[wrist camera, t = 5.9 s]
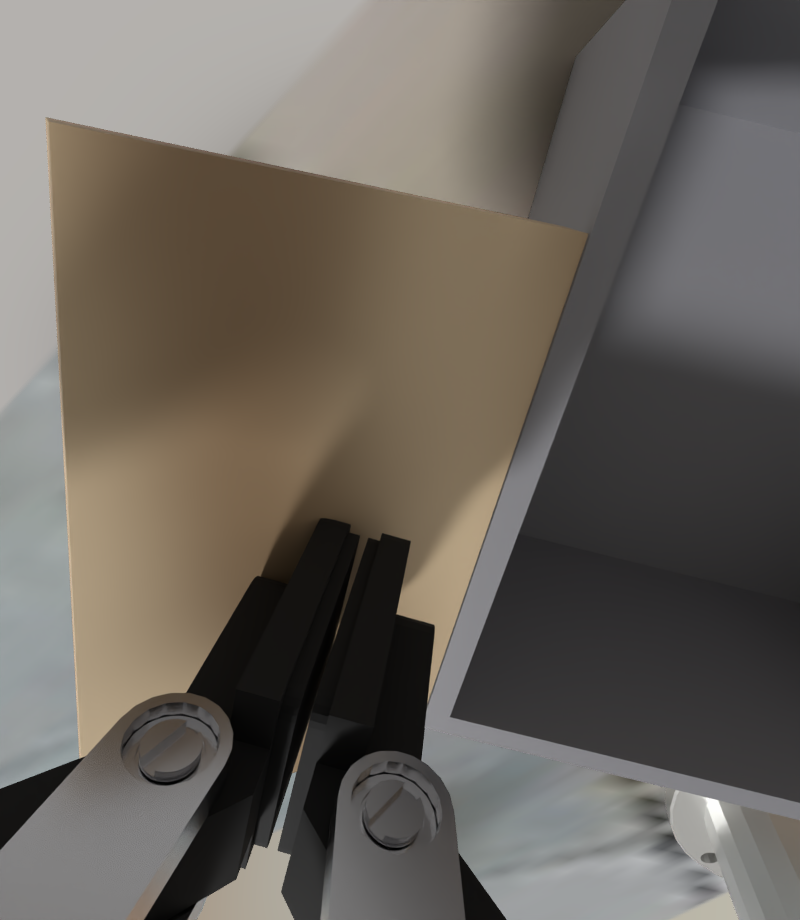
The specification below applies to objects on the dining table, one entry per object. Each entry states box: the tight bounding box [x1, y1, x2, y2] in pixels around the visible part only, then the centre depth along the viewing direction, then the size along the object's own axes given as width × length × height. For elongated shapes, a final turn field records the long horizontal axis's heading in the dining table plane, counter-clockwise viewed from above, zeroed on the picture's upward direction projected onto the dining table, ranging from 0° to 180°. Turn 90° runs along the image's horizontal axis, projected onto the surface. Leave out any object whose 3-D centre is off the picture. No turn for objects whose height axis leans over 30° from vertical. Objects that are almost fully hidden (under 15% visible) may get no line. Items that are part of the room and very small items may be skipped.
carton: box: [425, 0, 800, 820], centre depth 16 cm, size 15×16×10 cm
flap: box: [46, 118, 588, 773], centre depth 10 cm, size 8×12×1 cm
